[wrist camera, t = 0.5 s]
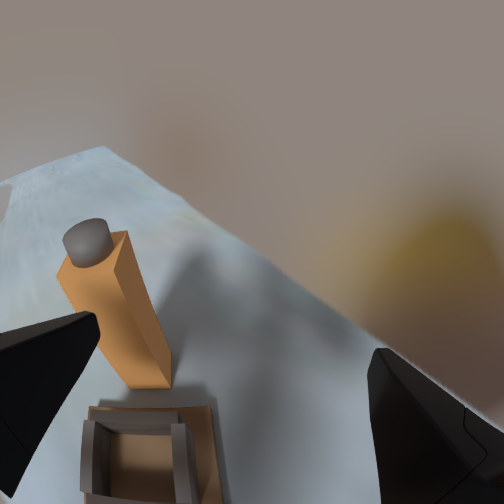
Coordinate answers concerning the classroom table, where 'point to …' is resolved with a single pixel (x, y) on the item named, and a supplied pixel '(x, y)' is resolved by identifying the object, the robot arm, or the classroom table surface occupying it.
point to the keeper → (149, 456)
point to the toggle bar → (116, 303)
